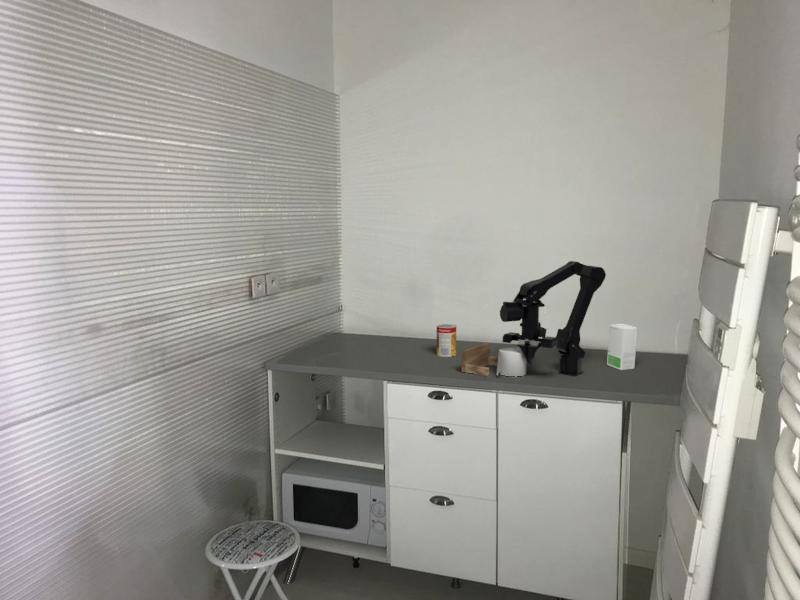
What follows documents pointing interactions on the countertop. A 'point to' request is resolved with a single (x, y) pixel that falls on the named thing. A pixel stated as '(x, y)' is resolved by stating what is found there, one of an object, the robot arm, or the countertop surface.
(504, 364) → the toilet tissue
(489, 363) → the roll cradle
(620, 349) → the skincare box
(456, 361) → the countertop surface
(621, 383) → the countertop surface
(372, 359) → the countertop surface
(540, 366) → the countertop surface
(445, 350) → the canned food
